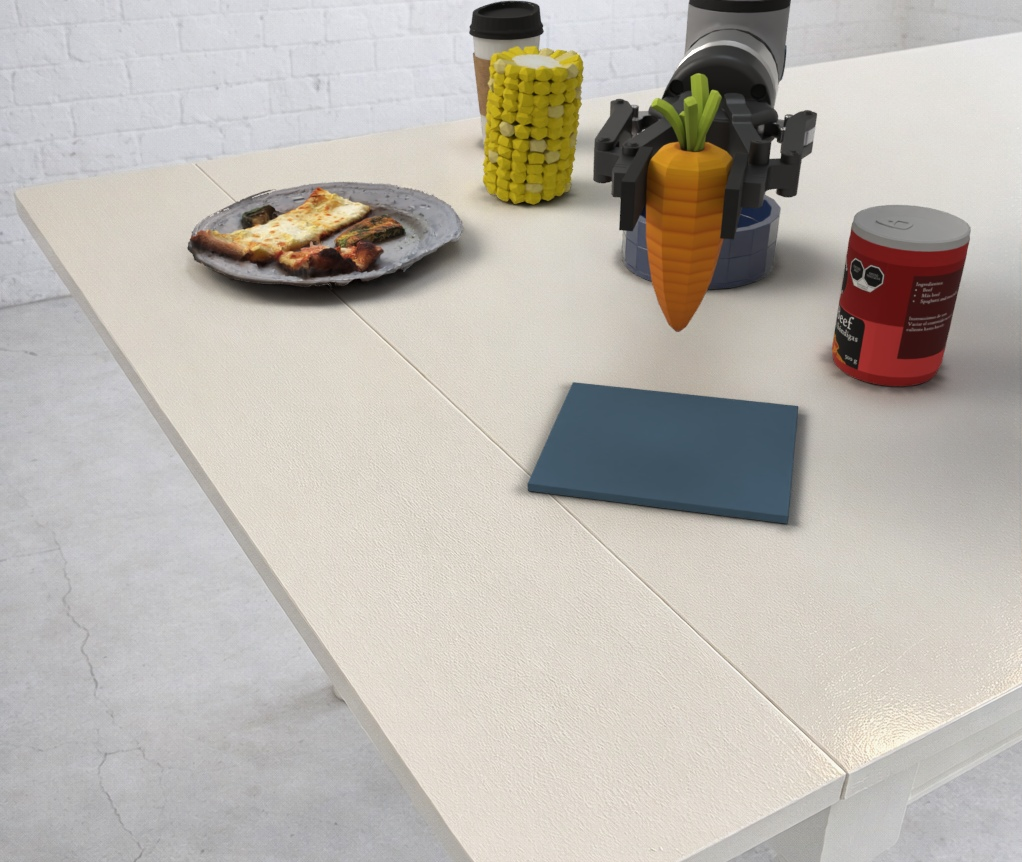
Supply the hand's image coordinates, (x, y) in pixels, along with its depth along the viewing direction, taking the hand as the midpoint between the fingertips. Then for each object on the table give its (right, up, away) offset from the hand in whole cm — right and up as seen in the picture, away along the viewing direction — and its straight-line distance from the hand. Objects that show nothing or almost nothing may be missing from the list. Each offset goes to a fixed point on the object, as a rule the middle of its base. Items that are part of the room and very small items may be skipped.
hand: (678, 210), depth 60 cm
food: (-7, +17, +58) cm, 61 cm away
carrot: (+1, -5, +10) cm, 11 cm away
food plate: (-26, +8, +45) cm, 53 cm away
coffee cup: (-9, +27, +73) cm, 79 cm away
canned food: (+19, -5, +24) cm, 31 cm away
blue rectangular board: (+1, -12, +14) cm, 19 cm away
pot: (+8, +7, +42) cm, 43 cm away
